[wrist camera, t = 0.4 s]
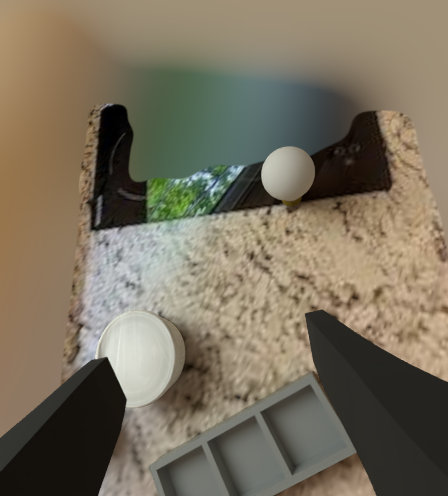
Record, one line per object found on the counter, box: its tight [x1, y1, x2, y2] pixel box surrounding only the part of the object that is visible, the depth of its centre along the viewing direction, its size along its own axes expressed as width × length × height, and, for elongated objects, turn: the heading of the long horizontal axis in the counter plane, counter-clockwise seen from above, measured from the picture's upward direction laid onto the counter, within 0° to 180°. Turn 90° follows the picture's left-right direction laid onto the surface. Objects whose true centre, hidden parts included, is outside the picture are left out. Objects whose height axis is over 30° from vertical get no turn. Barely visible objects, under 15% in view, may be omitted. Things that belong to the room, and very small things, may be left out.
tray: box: [149, 371, 357, 496], centre depth 31 cm, size 8×21×3 cm, turn 120°
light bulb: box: [261, 147, 315, 206], centre depth 34 cm, size 6×6×10 cm
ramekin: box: [95, 310, 185, 408], centre depth 36 cm, size 11×11×5 cm
